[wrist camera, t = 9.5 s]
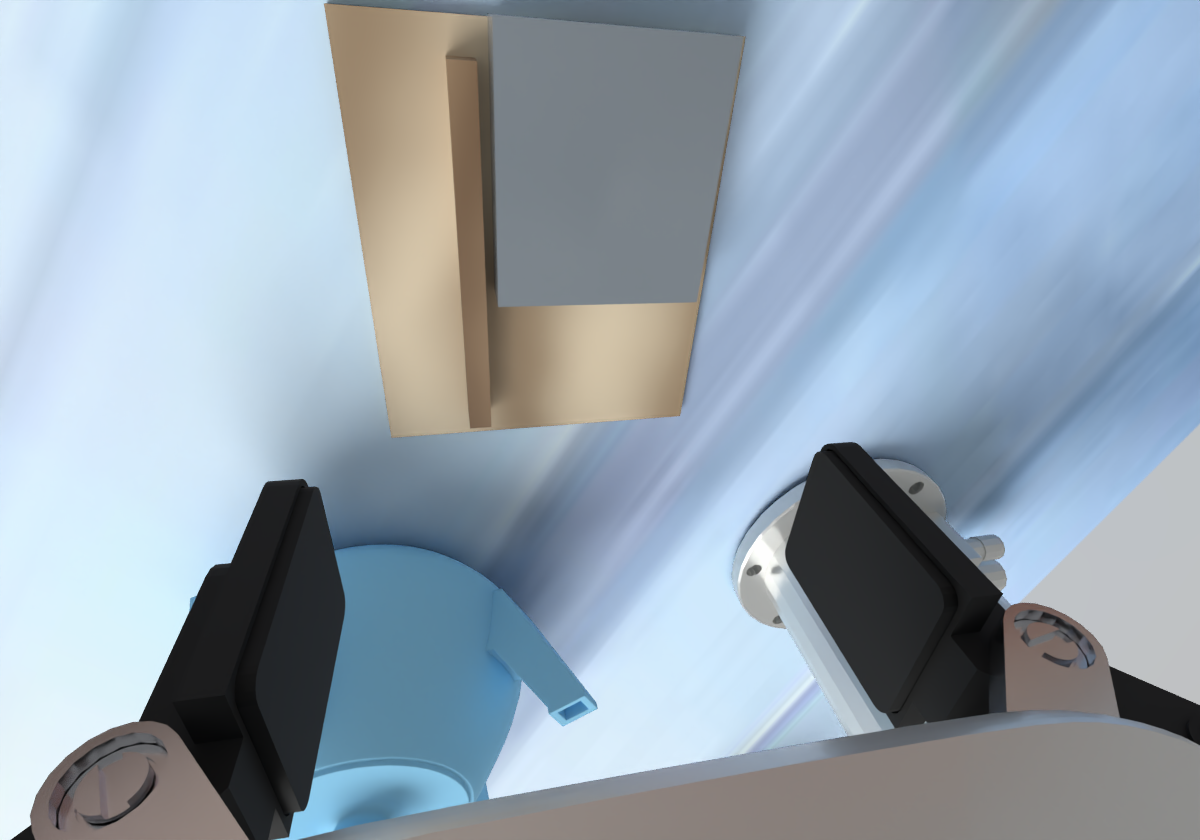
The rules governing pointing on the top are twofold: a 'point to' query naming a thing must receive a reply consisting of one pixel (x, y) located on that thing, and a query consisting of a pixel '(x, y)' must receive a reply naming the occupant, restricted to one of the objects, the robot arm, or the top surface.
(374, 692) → the teapot
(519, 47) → the tile
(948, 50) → the top surface
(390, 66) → the wooden ridged plate
